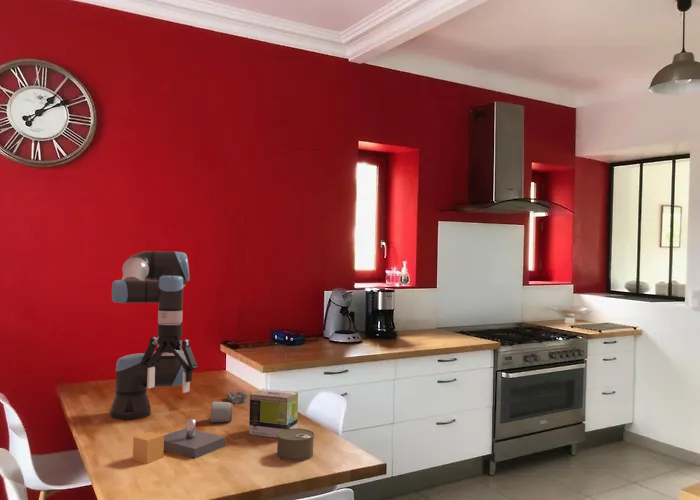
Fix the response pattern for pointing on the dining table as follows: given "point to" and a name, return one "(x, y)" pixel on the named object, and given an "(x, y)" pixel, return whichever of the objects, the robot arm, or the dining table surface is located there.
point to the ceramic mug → (221, 412)
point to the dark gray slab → (192, 443)
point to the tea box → (272, 412)
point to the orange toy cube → (148, 447)
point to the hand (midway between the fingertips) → (168, 389)
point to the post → (190, 428)
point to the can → (295, 444)
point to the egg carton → (237, 397)
